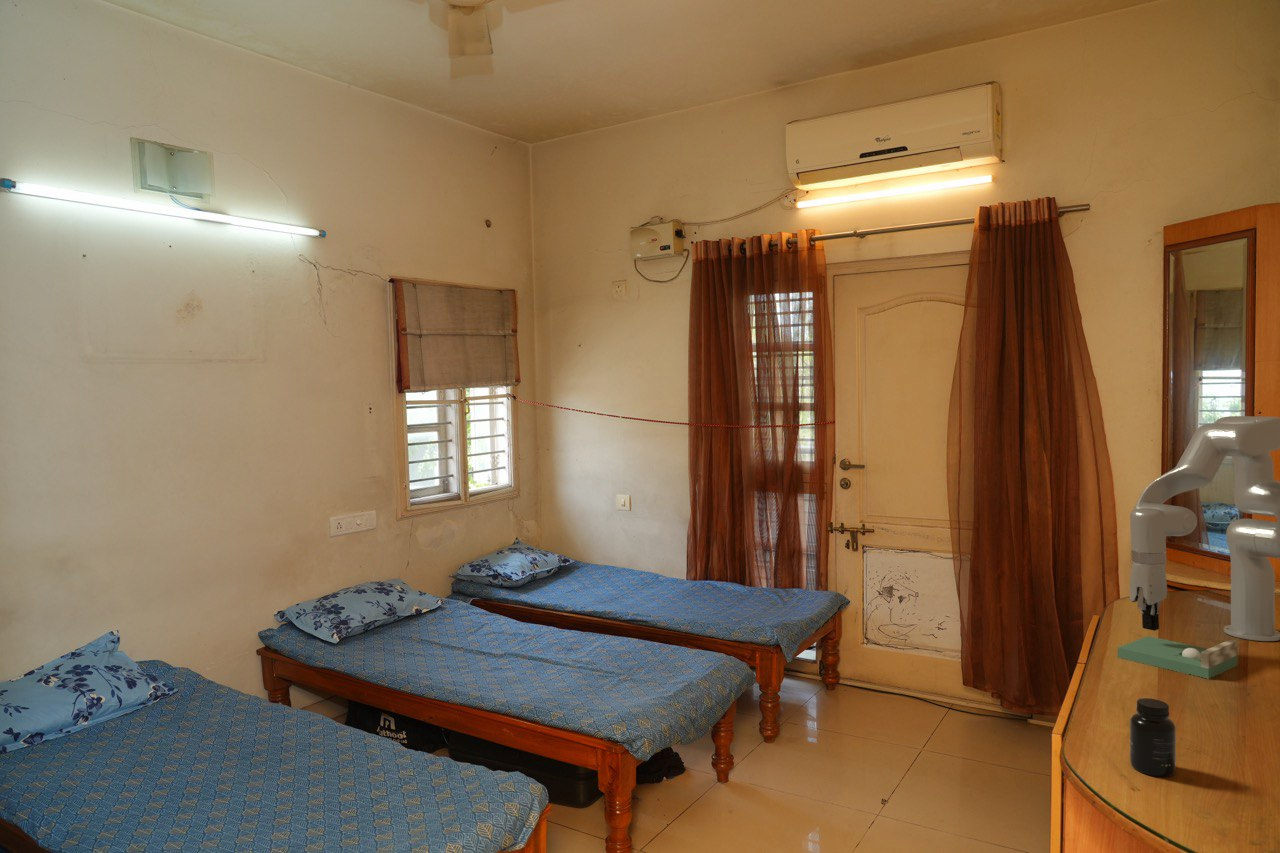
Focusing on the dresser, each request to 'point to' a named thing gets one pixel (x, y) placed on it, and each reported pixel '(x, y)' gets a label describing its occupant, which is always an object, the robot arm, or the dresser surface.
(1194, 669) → the putting green
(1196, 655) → the ball
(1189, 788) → the dresser surface
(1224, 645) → the backboard
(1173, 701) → the dresser surface
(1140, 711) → the supplement bottle
